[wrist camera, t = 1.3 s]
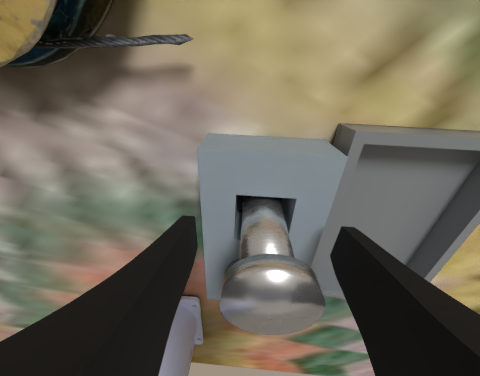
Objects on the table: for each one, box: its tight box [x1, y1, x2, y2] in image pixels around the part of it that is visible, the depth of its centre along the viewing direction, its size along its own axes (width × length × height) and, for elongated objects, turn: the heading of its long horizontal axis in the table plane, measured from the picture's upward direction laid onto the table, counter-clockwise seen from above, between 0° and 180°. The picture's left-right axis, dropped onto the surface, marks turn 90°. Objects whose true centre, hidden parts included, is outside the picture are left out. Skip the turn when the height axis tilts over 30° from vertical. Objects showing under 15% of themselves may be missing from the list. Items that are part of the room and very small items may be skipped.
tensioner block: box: [197, 133, 348, 300], centre depth 12 cm, size 12×7×4 cm, turn 177°
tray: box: [311, 123, 480, 297], centre depth 13 cm, size 13×9×2 cm
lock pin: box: [219, 195, 325, 335], centre depth 10 cm, size 4×4×8 cm
